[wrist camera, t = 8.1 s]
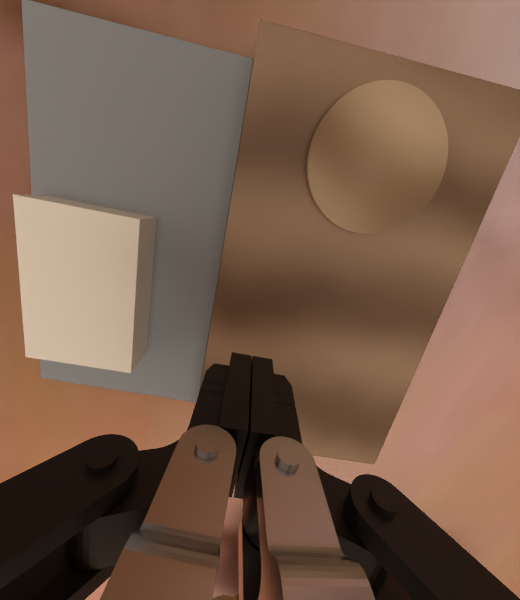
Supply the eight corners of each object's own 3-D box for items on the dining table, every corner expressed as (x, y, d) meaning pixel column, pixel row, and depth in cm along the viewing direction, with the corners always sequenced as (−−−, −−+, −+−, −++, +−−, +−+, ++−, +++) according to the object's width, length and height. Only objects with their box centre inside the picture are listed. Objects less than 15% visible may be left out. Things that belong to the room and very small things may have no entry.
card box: (139, 219, 14) (156, 217, 16) (12, 194, 13) (49, 196, 16) (130, 373, 17) (146, 352, 19) (25, 356, 16) (55, 337, 19)
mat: (26, 2, 13) (21, -2, 13) (253, 61, 14) (253, 58, 14) (43, 375, 20) (40, 377, 19) (198, 399, 21) (197, 402, 20)
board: (259, 63, 14) (260, 19, 11) (475, 119, 15) (537, 95, 12) (202, 400, 21) (192, 437, 17) (356, 424, 22) (374, 464, 18)
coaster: (328, 68, 11) (331, 61, 11) (462, 106, 12) (472, 100, 11) (291, 218, 13) (293, 218, 13) (409, 244, 14) (415, 246, 13)
